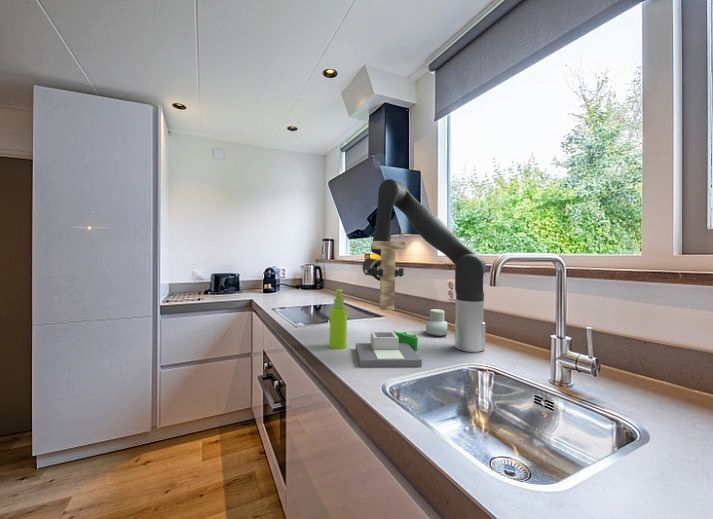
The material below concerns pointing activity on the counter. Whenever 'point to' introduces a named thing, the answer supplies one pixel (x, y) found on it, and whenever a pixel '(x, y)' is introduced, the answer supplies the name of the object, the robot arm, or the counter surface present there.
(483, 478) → the counter surface
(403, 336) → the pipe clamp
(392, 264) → the T-key
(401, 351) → the grey base plate
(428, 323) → the air freshener
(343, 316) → the soap dispenser
